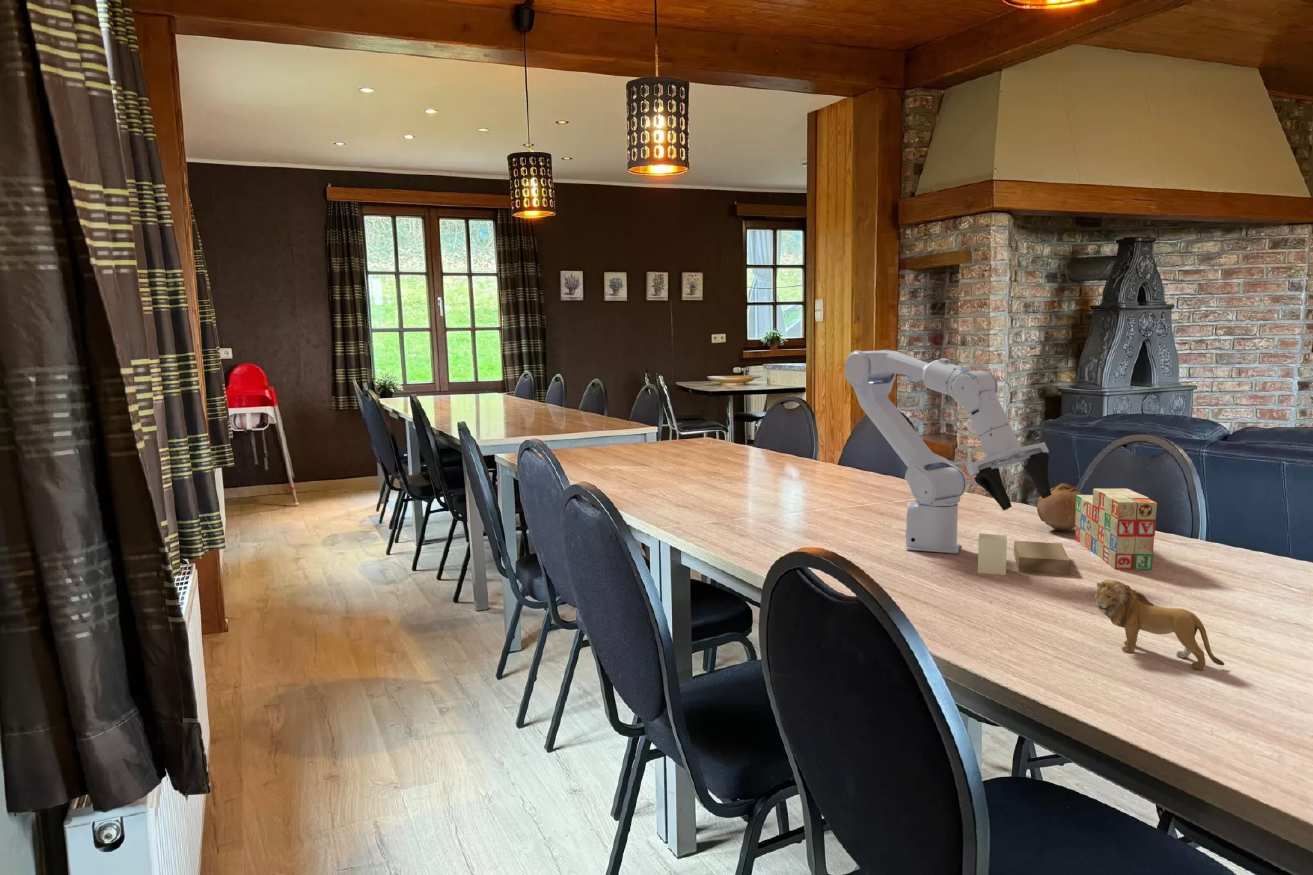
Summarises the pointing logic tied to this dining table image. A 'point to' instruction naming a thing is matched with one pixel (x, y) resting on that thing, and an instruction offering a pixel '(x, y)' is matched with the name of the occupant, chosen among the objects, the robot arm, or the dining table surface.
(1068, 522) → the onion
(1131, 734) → the dining table surface
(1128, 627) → the lion figurine
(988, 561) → the cream block
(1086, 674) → the dining table surface
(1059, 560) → the tan block
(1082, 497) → the stack of blocks
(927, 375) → the robot arm
